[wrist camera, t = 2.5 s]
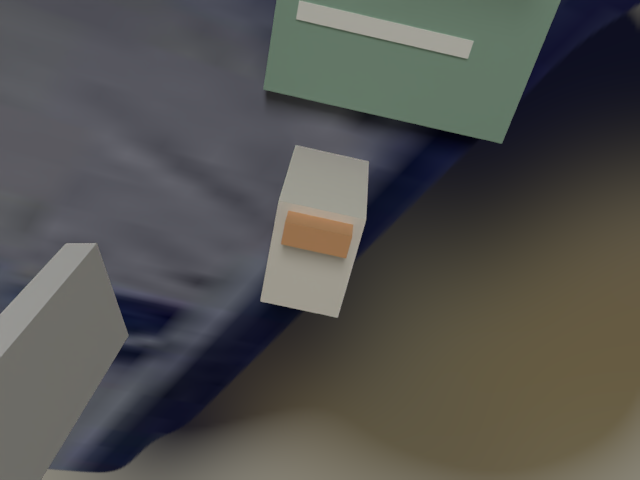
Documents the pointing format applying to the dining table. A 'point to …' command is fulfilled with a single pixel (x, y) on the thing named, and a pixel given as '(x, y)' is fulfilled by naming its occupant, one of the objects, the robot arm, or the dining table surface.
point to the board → (411, 58)
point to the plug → (316, 231)
